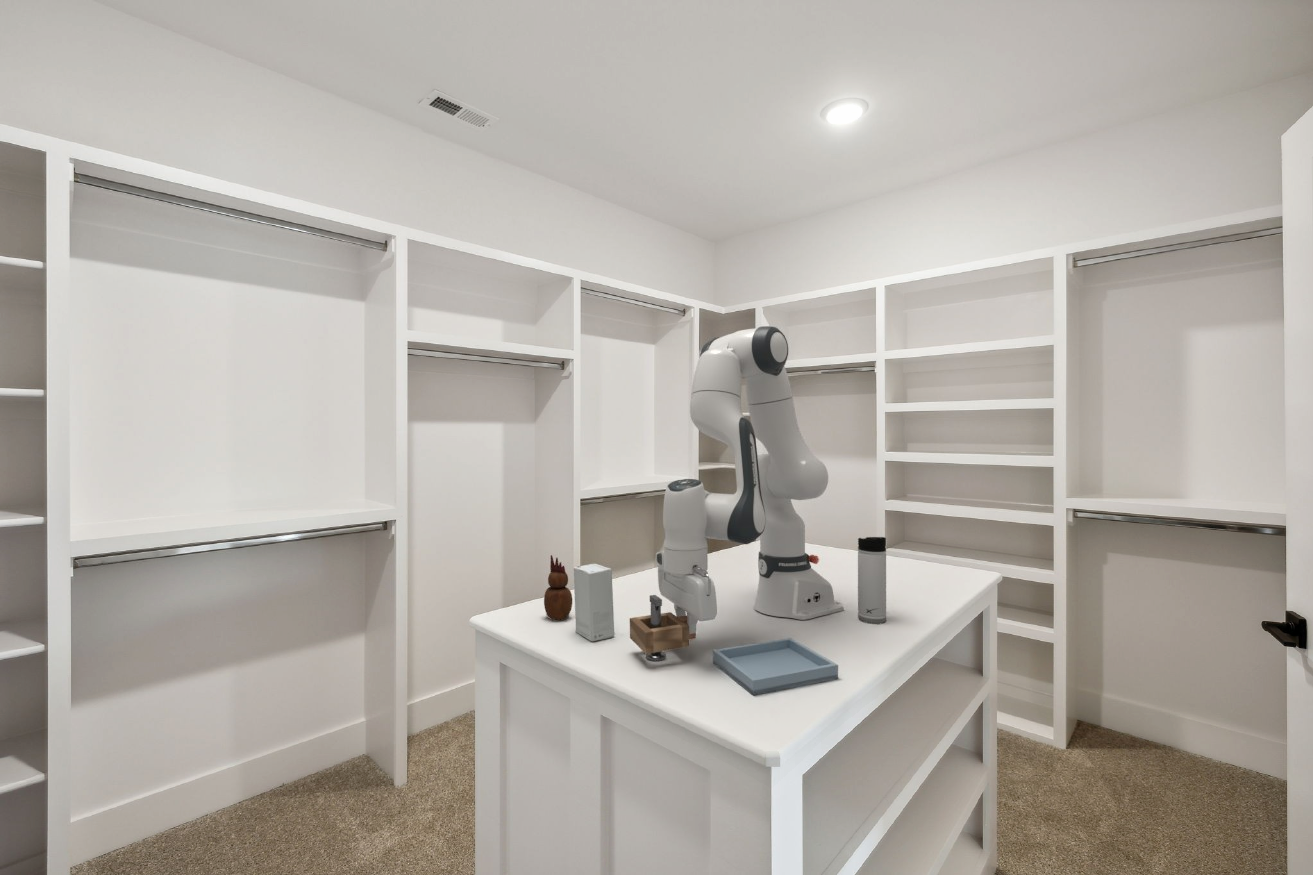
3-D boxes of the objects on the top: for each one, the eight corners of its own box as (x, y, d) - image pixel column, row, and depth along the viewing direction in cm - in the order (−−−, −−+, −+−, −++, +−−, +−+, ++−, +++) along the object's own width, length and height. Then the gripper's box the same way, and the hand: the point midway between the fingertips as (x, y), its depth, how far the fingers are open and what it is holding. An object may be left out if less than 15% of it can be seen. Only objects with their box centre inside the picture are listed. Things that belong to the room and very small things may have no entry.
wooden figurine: (539, 618, 135) (539, 555, 135) (559, 612, 140) (559, 552, 140) (557, 624, 131) (556, 559, 131) (576, 618, 135) (576, 555, 135)
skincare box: (614, 637, 122) (614, 569, 122) (589, 643, 119) (589, 572, 119) (597, 626, 129) (596, 561, 129) (572, 631, 126) (572, 565, 126)
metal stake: (661, 652, 114) (661, 593, 114) (669, 659, 110) (668, 599, 110) (642, 655, 112) (642, 595, 112) (649, 662, 108) (649, 601, 108)
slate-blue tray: (790, 650, 115) (790, 637, 115) (838, 678, 101) (838, 664, 101) (713, 663, 108) (713, 650, 108) (753, 695, 95) (753, 680, 95)
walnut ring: (683, 629, 118) (683, 610, 118) (703, 643, 110) (703, 623, 110) (629, 637, 114) (629, 618, 113) (646, 653, 105) (645, 632, 105)
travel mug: (872, 626, 129) (872, 538, 129) (852, 617, 135) (852, 534, 135) (893, 622, 132) (893, 536, 132) (872, 614, 138) (872, 532, 138)
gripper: (724, 570, 105) (725, 644, 105) (679, 549, 124) (680, 612, 124) (694, 574, 102) (695, 650, 102) (652, 552, 121) (653, 616, 121)
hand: (686, 629), depth 113 cm, fingers closed on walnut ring, 2 cm apart
